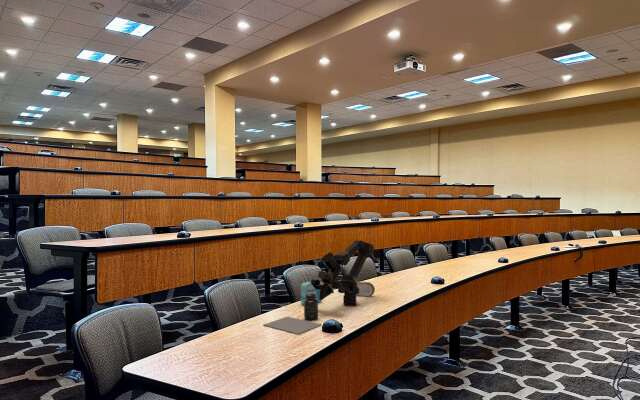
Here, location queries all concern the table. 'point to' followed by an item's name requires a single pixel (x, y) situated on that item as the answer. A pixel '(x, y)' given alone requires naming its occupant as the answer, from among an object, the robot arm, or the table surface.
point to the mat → (292, 325)
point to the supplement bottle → (310, 307)
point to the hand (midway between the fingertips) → (320, 299)
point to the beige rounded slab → (365, 289)
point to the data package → (309, 291)
